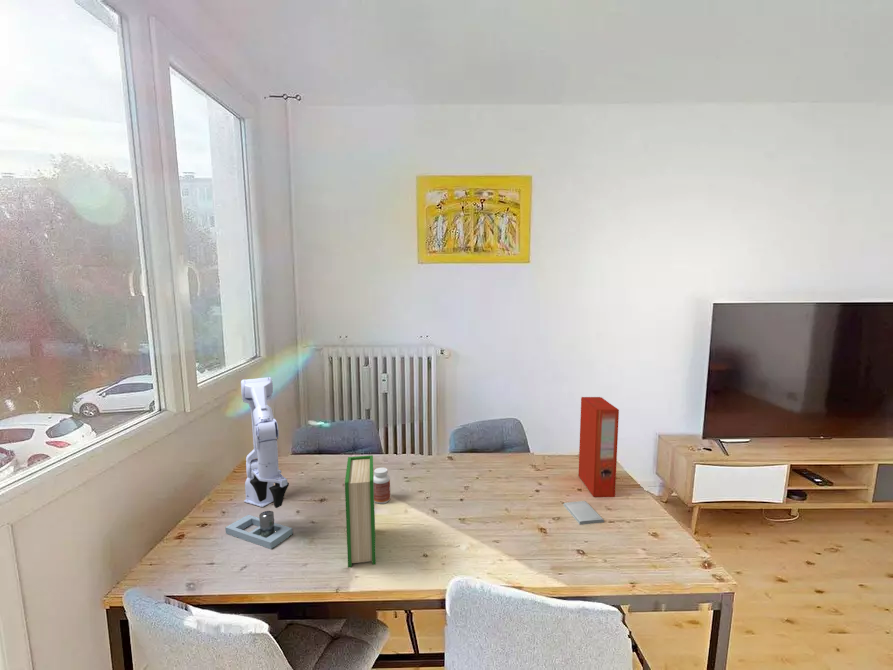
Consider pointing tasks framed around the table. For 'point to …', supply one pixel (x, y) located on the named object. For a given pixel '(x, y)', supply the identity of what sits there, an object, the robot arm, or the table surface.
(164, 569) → the table surface
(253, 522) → the grey double-hole frame
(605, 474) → the file binder
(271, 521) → the peg
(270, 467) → the robot arm
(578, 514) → the hard drive
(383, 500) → the pill bottle
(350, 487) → the hardback book
